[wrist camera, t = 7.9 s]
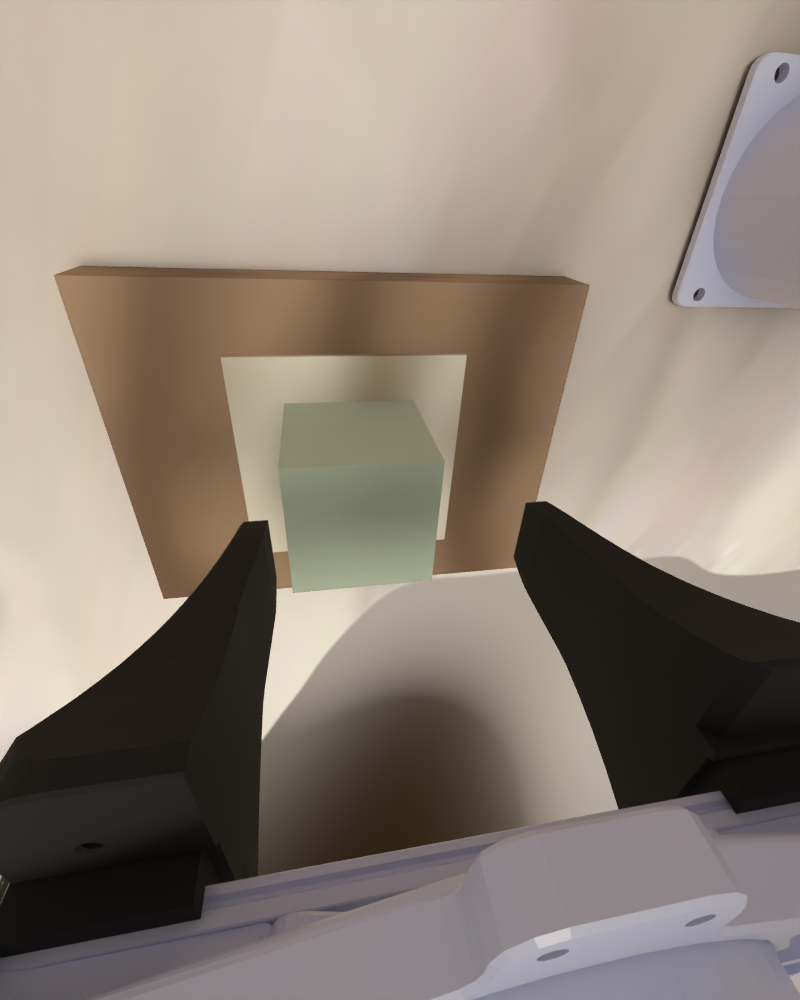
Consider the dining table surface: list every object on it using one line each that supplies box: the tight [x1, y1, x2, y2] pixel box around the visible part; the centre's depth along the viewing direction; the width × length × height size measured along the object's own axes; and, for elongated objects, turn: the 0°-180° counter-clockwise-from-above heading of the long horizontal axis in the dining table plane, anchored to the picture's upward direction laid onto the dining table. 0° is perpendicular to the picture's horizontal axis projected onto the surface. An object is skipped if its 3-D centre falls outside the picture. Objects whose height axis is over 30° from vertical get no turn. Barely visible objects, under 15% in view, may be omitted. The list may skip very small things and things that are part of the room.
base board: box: [54, 266, 589, 599], centre depth 20 cm, size 18×14×2 cm
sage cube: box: [278, 400, 445, 593], centre depth 17 cm, size 5×5×5 cm
